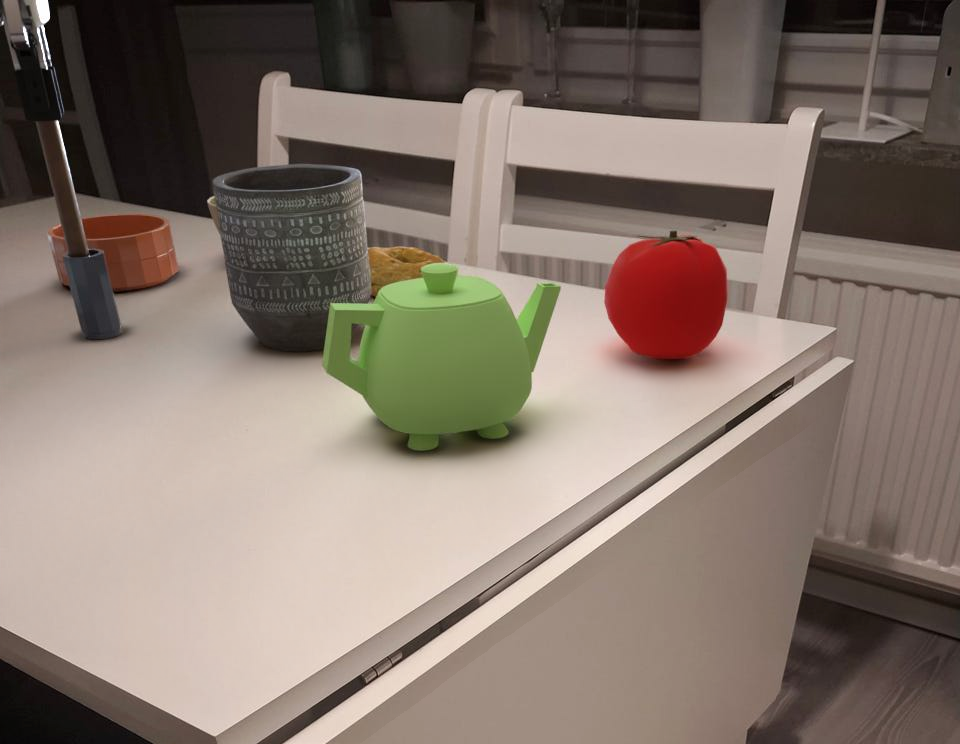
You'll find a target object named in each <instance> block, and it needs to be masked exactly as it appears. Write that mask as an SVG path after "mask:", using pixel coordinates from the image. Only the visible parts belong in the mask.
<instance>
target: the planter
mask: <svg viewBox="0 0 960 744" xmlns="http://www.w3.org/2000/svg"><path fill="white" fill-rule="evenodd" d="M211 184H212V189H213V196H215V202H216V205H217V206H216V209H217V216H218V223H219V230H220V234H219V236H220V240H221V241H220V242H221V246H222V252H223V256H224V260H225V261H224V264H225V270H226V279H227V284H228V290H229V295H230V301H231V304H232V306H233V307H234V309H235V311H236V312H237V314H239V315H238V316H240V318H241V319H242V321H243V323H245V325H246V326H247V327H248V328H249V330H250V331H251V332H252V333H253V335H254V336H255V337H256V338H257V339H258V340H259V341H260V343H261V344H262V346H265V347H266V348H269V349H272V350H276V351H283V352H294V353H295V352H296V353H297V352H299V353H300V352H314V351H321V350H323V351H324V346H325V339H326V331H327V324H328V316H329V309H330V303H355V304H369V302H370V299H371V297H372V295H371V275H370V265H369V257H368V251H367V249H369V248H368V237H367V236H368V235H367V225H366V224H367V223H366V222H367V221H366V212H365V202H364V201H365V200H364V197H363V195H364V193H363V191H364V190H363V177H362V173H361V171H360V170H359V169H357V168H353V167H347V166H340V165H333V164H314V163H290V164H277V165H267V166H256V167H249V168H244V169H240V170H239V169H238V170H236V171H235V170H234V171H231V172H227V173H224V174H223V173H222V174H220V175H218V176H216V177H214V178H213V179H212V182H211ZM359 325H360V324H354V323H352V325H351V339H353V337H354V334H355V332H357V329H358V327H359Z"/></svg>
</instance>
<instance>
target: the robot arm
mask: <svg viewBox="0 0 960 744" xmlns="http://www.w3.org/2000/svg"><path fill="white" fill-rule="evenodd" d="M50 17H51V16H50V7H49V1H48V0H0V27H3V28H4V33H5V35H6V40H7V43H8V47H9V52H10V56H11V60H12V63H13V68H14V70H13V73H14V77H15V81H16V85H17V90H18V94H19V97H20V101H21V106H22V110H23V115H24V119H26V121H27V122H30V123H31V122H32V123H33V122H35V123H36V122H37V121H58V122H59V121H60V120H61V119H62V117H63V116H64V115H65V108H64V104H63V100H62V95H61V91H60V87H59V82H58V78H57V73H56V69H55V66H52V65H53V63H52V59H51V54H50V49H49V45H48V41H47V37H46V32H45V27H44V25H46V23H48V22H49V21H50Z"/></svg>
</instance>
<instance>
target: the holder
mask: <svg viewBox="0 0 960 744" xmlns="http://www.w3.org/2000/svg"><path fill="white" fill-rule="evenodd" d="M88 250H89V254H90V256H85V257H70V256H69V254H68V252H66V253H64V254H63V256H62V258H63V262H64V265H65V269H66V273H67V277H68V281H69V285H70V286H69V288H70V293H71V296H72V299H73V304H74V307H75V311H76V315H77V319H78V323H79V328H80V331H81V332H82V336H83V338H85V339H88V340H94V341H95V340H107V339H111V338H116V337H118V336H120V335H121V334H122V333H123V329H122V323H121V318H120V314H119V310H118V306H117V301H116V296H115V292H113V288H112V284H111V279H110V275H109V271H108V267H107V262H106V258H105V254H104V251H103V250H100V249H88Z"/></svg>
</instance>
